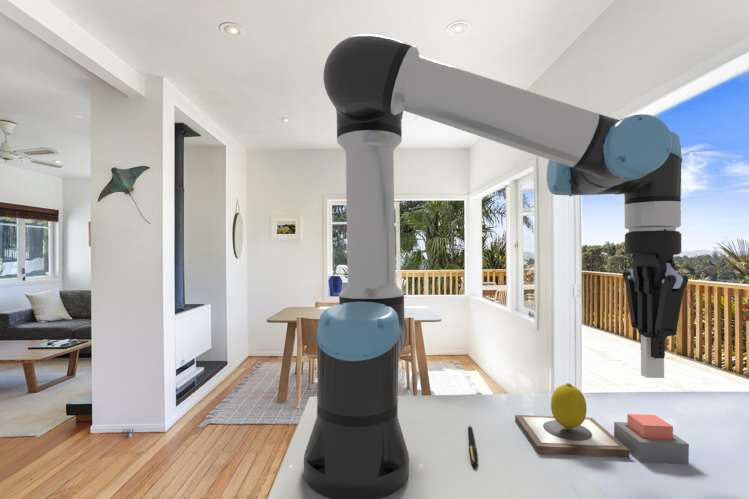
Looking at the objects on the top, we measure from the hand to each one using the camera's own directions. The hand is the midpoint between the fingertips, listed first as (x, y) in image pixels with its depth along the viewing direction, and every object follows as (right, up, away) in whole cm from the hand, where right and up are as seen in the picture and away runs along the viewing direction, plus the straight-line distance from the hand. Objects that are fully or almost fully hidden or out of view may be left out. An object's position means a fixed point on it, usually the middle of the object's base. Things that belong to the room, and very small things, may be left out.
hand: (652, 376), depth 65 cm
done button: (0, -10, 0) cm, 10 cm away
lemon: (-12, -11, +4) cm, 16 cm away
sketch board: (-12, -12, +4) cm, 17 cm away
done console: (0, -12, 0) cm, 12 cm away
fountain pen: (-29, -12, +1) cm, 31 cm away
